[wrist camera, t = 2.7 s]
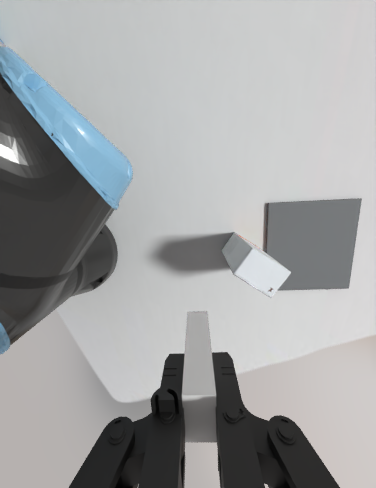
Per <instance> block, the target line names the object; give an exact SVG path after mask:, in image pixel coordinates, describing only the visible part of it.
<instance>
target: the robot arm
mask: <svg viewBox="0 0 376 488" xmlns="http://www.w3.org/2000/svg"><path fill="white" fill-rule="evenodd" d="M132 176H133V170H132V166H131V164H130V162H129V160H128V159H127V158H126V157H125V155H124V154H123V153H121V152H120V151H119V150H118V149H117V148H116V147H115V146H114V145H113V144H112V143H111V142H110V141H109V140H108V139H107V138H106V137H105V136H104V135H103V134H101V133H100V132H99V131H98V130H97V129H96V128H95V127H94V126H93V125H92V124H91V123H90V122H89V121H88V120H87V119H86V118H84V117H83V116H82V115H81V114H80V113H79V112H78V111H77V110H76V109H75V108H74V107H73V106H72V105H71V104H69V103H68V102H67V101H66V100H65V99H64V98H63V97H62V96H61V95H60V94H59V93H58V92H57V91H55V90H54V89H53V88H52V87H51V86H50V85H49V84H48V83H47V82H46V81H45V80H44V79H43V78H41V77H40V76H39V75H38V74H37V73H36V72H35V71H34V70H33V69H32V68H31V67H30V66H29V65H28V64H27V63H26V62H25V61H24V60H23V59H22V58H21V57H19V56H18V55H17V54H16V53H15V52H14V51H13V50H12V49H10V48H8V47H2V46H1V47H0V354H3V353H4V352H5V351H7V350H8V348H9V347H10V345H11V344H13V343H14V342H15V341H16V340H18V339H19V338H20V337H21V336H22V335H24V334H25V333H26V332H27V331H29V330H30V329H31V328H32V327H34V326H35V325H36V324H37V323H38V322H40V321H41V320H42V319H43V318H45V317H46V316H47V315H49V314H50V313H51V312H52V311H53V310H55V309H56V308H57V307H58V306H60V305H61V304H62V303H63V302H65V301H66V300H67V299H68V298H69V297H71V296H75V295H78V294H82V293H85V292H89V291H91V290H94V289H95V288H97V287H99V286H100V285H101V284H103V283H104V282H105V281H106V280H107V279H108V278H109V277H110V275H111V274H112V273H113V271H114V269H115V266H116V263H117V246H116V242H115V239H114V237H113V235H112V233H111V231H110V230H109V229H108V227H107V226H106V225H105V223H106V222H107V220H108V219H109V217H110V216H111V214H112V213H113V211H114V210H117V208H118V206H119V204H118V203H119V201H120V199H121V198H122V196H123V194H124V193H125V191H126V189H127V187H128V186H129V184H130V182H131V180H132ZM151 407H152V413H151V414H149V415H148V416H147V417H145V418H143V419H140V420H137V421H134V422H132V421H131V419H129V418H127V417H118V418H116V419H114V420H112V421H111V422H110V423H109V424H108V425H107V426H106V427H105V429H104V430H103V432H102V433H101V435H100V437H99V438H98V440H97V441H96V443H95V445H94V447H93V448H92V450H91V452H90V453H89V455H88V457H87V458H86V460H85V461H84V463H83V465H82V466H81V468H80V470H79V471H78V473H77V475H76V476H75V478H74V480H73V481H72V483H71V485H70V486H69V488H137V487H138V484H139V487H138V488H184V479H185V442H217V446H218V471H219V476H220V487H221V488H265V486H264V483H265V484H267V485H268V487H269V488H340V487H339V486H338V484H337V483H336V481H335V480H334V478H333V477H332V476H331V474H330V472H329V471H328V469H327V468H326V466H325V465H324V463H323V462H322V460H321V459H320V458H319V456H318V455H317V453H316V452H315V450H314V449H313V447H312V446H311V444H310V443H309V441H308V440H307V438H306V437H305V436H304V434H303V432H302V431H301V429H300V428H299V427H298V426H297V425H296V424H295V422H293V421H292V420H290V419H289V418H287V417H284V416H274V417H272V418H271V419H270V420H269V421H267V420H264V419H261V418H259V417H256V416H254V415H253V414H251V413H250V412H249V411H248V410H247V409H246V408H245V406H244V404H243V402H242V399H241V394H240V390H239V386H238V381H237V377H236V373H235V368H234V364H233V360H232V358H231V357H230V355H229V354H228V353H227V352H219V353H212V351H211V341H210V332H209V323H208V313H207V311H198V312H187V326H186V341H185V354H169V356H168V357H167V359H166V360H165V365H164V370H163V376H162V381H161V387H160V388H159V389H158V390H157V391H156V392H155V393H154V394H153V396H152V398H151Z"/></svg>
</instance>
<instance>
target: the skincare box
mask: <svg viewBox="0 0 376 488" xmlns="http://www.w3.org/2000/svg"><path fill="white" fill-rule="evenodd" d="M222 253H223V255H224V257H225V259H226V261H227V263H228V265H229V267H230V269H231V271H232V273H233V274H234V275H235V276H237V277H238V278H240V279H242V280H243V281H245V282H246V283H248V284H249V285H250V286H252V287H253V288H255V289H257V290H259V291H260V292H262V293H264V294H265V295H267V296H269V297H270V298H272V297H273V295H274V294H275V293H276V291H277V290H278V289H279V288H280V286H281V285H282V284H283V283H284V281H285V280H286V279H287V278H288V276H289V275H290V274H291V272H290V271H289V270H288V269H286V268H285V267H284V266H282V265H281V264H280V263H278V262H277V261H276V260H275V259H273V258H272V257H271V256H269V255H268V254H267V253H265V252H264V251H263V250H262V249H260V248H258V247H257V246H255V245H254V244H252V243H251V242H249V241H247V240H246V239H244V238H243V237H241V236H240V235H238V234H237V233H235V232H234V233H233V235H232V236H231V238H230V239H229V240H228V242H227V243H226V245H225V246H224V247H223V249H222Z"/></svg>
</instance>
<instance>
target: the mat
mask: <svg viewBox="0 0 376 488" xmlns="http://www.w3.org/2000/svg"><path fill="white" fill-rule="evenodd" d="M361 200H362V199H340V200H320V201H299V202H278V203H268V214H267V238H266V253H267V254H268V255H269V256H271V257H272V258H273V259H275V260H276V261H277V262H278V263H280V264H281V265H282V266H284V267H285V268H286V269H288V270H289V271H290V272H291V274H290V275H289V276H288V278H287V279H286V280H285V281H284V283H283V284H282V285H281V286H280V288H279V289H278V290H310V289H344V288H349V283H350V276H351V269H352V262H353V255H354V248H355V241H356V234H357V227H358V220H359V213H360V206H361Z"/></svg>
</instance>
